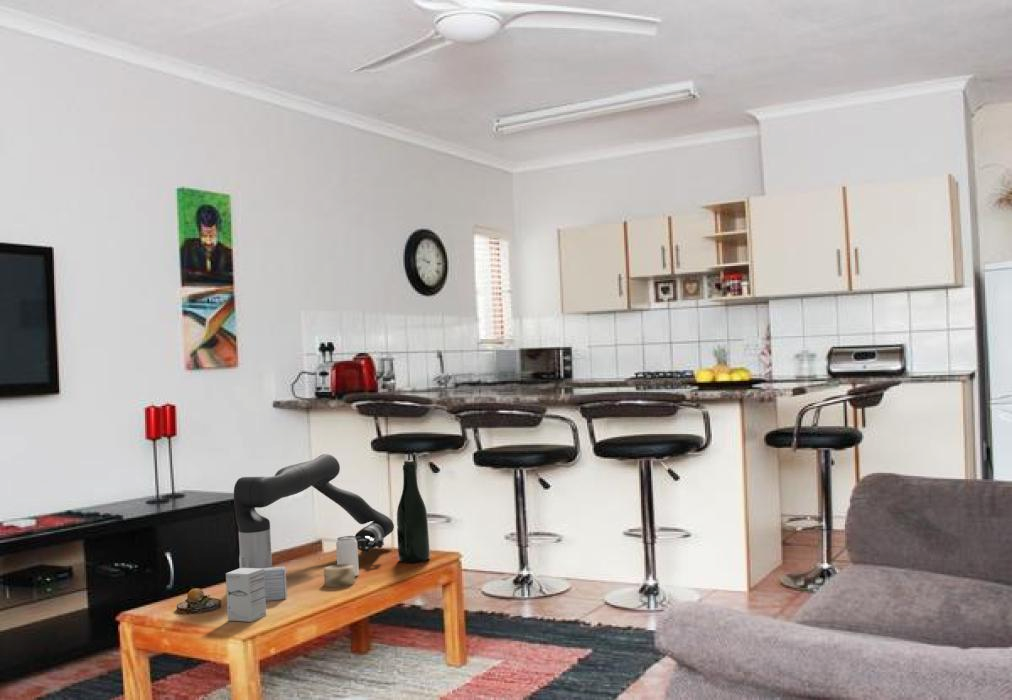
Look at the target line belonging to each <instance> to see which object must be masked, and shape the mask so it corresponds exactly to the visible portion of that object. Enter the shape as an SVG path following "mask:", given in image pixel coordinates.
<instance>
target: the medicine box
mask: <svg viewBox="0 0 1012 700" xmlns="http://www.w3.org/2000/svg"><path fill="white" fill-rule="evenodd" d="M261 569H264V578H265V601H266V602H269V601H278V600H279V601H280V600H282V601H283V600H287V596H288V594H287V593H288V592H287V591H288V590H287V576H286V575H287V573H286V566H283V565H282V566H274V567H273V566H272V567H271V568H261Z"/></svg>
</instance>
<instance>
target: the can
mask: <svg viewBox="0 0 1012 700" xmlns="http://www.w3.org/2000/svg"><path fill="white" fill-rule="evenodd" d="M336 539H337V541H336V544H335V547H336V549H335V551H336V565H339V564H350V565H354V573H355V578H356V577H358V576H359V575H360V573H359V570H360V569H359V553H358V550H359V549H357V541H356V539H355V535H343V536H338V537H337V538H336Z"/></svg>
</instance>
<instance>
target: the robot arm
mask: <svg viewBox="0 0 1012 700" xmlns="http://www.w3.org/2000/svg"><path fill="white" fill-rule="evenodd" d="M340 469H341V467H340V462H339V461H338V459H337V458H336V457H335V456H333V455H331V454H329V453H323V454H320V455H318V456H317V457H316V458H314V459H311V460H307V461H304V462H299V463H297V464H291V465H288V466H285V467H283V468H281V469H279V470H277V472H276V473H275V474H274V476H243V477H239V478H238V479H237V481H235V484H234V487H233V502H234V503H233V504H234V511H235V512H234V513H235V521H236V524H237V526H238V543H239V546H238V547H239V555H238V558H239V559H238V562H239V568H260V569H261V568H271V567H273V560H272V559H273V557H272V555H273V554H272V541H271V538H272V537H271V523H270V522H271V521H270V520H269V518H267V517H265V516H262V515H261V514H259V513H258V512H257V511H256V508H259V509H260V508H266V507H268V506H270V505H272V504H273V503H275V502H277V501H278V500H280V499H282V498H287V497H290V496H294V495H297V494H299V493H301V492H304V491H305V490H307V489H309V488H311V487H312V488H314V489H315V490H317V492H319V493H321V494H322V495H324V496H325V497H326V498H328V499H330V500H331V501H332V502H334V503H335V504H337V505H338V506H340V507H341V508H342V509H343V510H345V512H346V513H347V514H348V515H349V516H350V517H351V518H353V520H354V521H356V523H358V524H359V525H366V524H368V523H370V522H371V523H370V524H368V525H367V526H363V528H361V529H360V530H359V531H357V532H356V534H355V535H354V536H355V539H356V541H357V549H358V550H359V551H360V552H364V553H365V552H371V551H372V550H373V549H376V548H378V549H382V548H383V546H384V545H385V541H384V539H385V538H386V537H387V536H388V535H390V534H391V533H393V531H394V529H395V525H394V524H395V523H394V522H393V520H392V519H391V518H390V517H389V516H387V515H386V514H383V513H382V512H380V511H378V510H376V509H375V508H373V507H372V506H371V505H370V504H368V503H367V501H366V500H365V499H364V498H362V497H361V496H360V495H358V494H356V493H354V492H352V491H349V490H344V489H341V488H340V487H337V486H334V485H333V484H332V483H330V482H331V481H332V480H334V479H336V478H337V476H338V475H339V474H340V472H341V471H340Z"/></svg>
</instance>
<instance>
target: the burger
mask: <svg viewBox="0 0 1012 700" xmlns="http://www.w3.org/2000/svg"><path fill="white" fill-rule="evenodd" d="M186 598H187V599H184V601H183V602H179V603H178V604H177V605H176V612H177V613H178V614H182V613H183V615H196V614H205V613H209V612H213V611H216V610H218V609H220V608H221V607H222V605H221V604H222V600H221V599H219V598H214V597H210V595H206V594H205V593H204V590H203V589H201V588H193V586H192V585H191V589H190V590H189V591H188V593H187V596H186Z"/></svg>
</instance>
